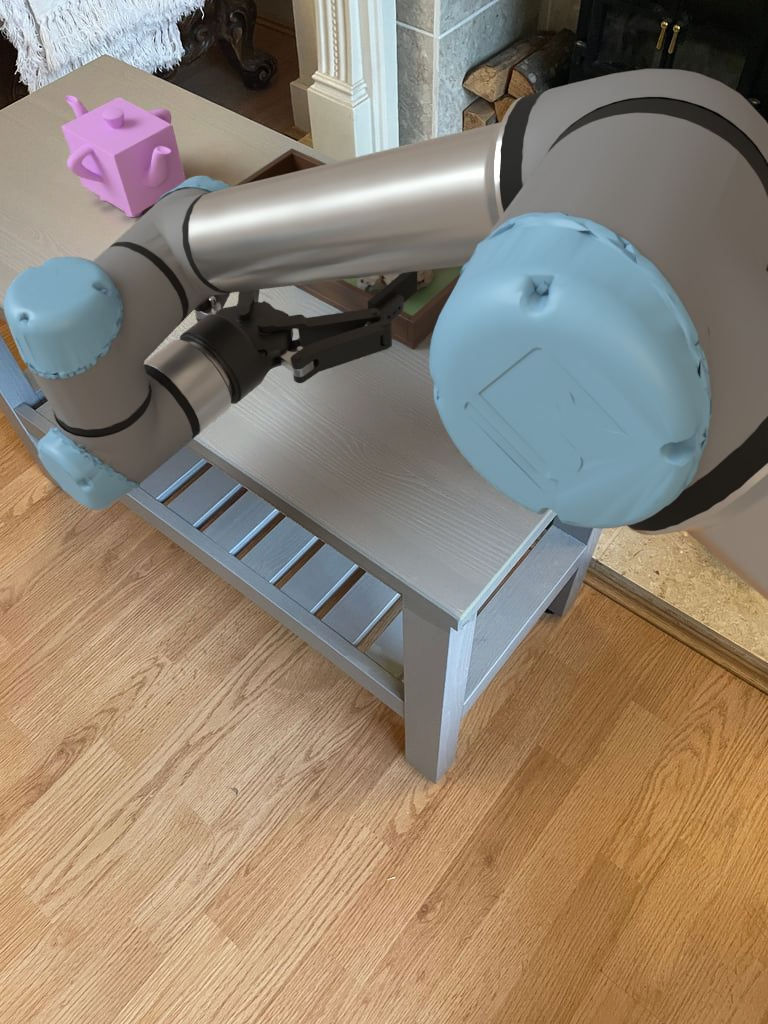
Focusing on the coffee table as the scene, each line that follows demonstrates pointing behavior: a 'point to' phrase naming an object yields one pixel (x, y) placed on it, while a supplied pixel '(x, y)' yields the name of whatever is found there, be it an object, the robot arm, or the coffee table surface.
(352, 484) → the coffee table surface
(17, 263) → the coffee table surface
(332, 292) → the divided wooden tray
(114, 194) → the teapot
